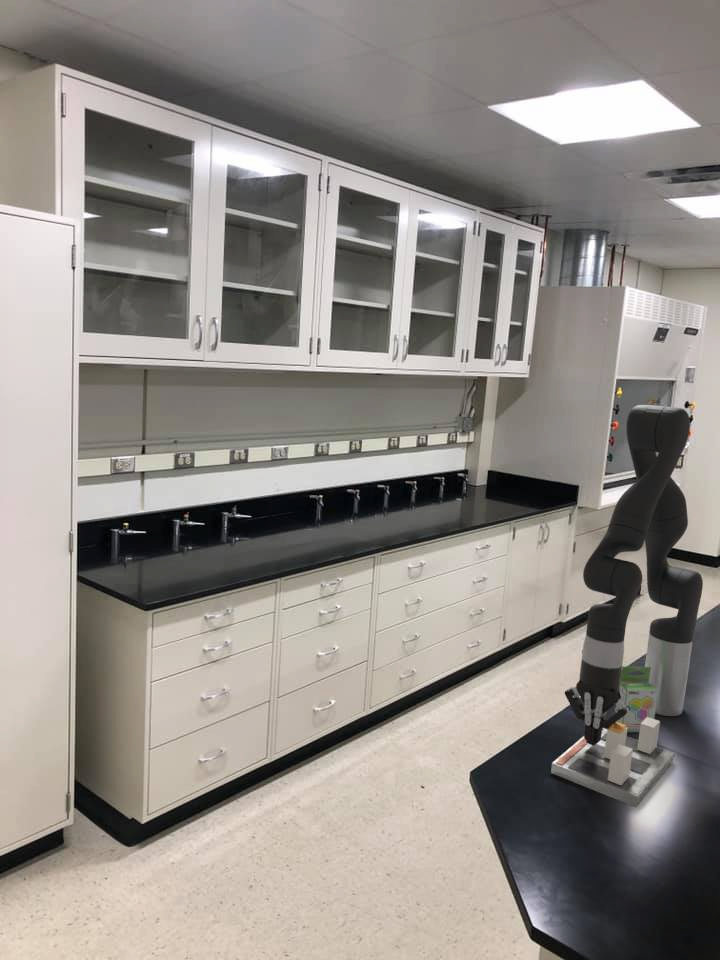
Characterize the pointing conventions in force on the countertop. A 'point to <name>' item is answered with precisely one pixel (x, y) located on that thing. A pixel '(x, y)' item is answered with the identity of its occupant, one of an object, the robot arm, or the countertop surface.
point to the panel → (593, 769)
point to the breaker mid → (615, 738)
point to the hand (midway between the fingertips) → (591, 743)
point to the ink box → (637, 697)
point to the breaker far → (648, 735)
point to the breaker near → (620, 764)
